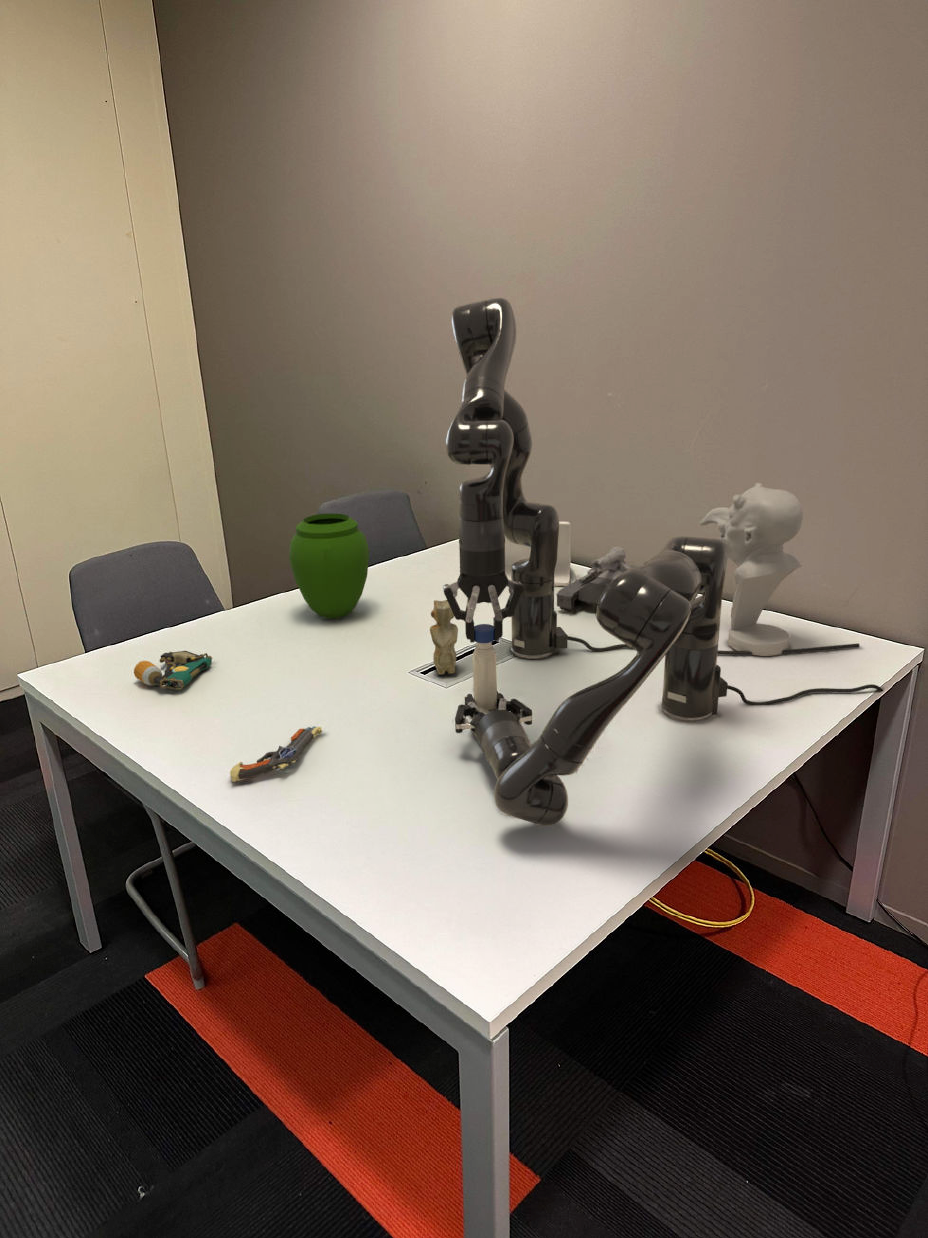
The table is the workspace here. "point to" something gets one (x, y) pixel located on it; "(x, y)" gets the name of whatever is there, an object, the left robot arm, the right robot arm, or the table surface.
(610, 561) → the toy
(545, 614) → the left robot arm
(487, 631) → the cap
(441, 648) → the sculpture
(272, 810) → the table surface
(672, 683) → the right robot arm
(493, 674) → the bottle
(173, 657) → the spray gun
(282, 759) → the toy gun
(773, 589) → the bust sculpture
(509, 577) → the tablet stand
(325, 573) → the vase
